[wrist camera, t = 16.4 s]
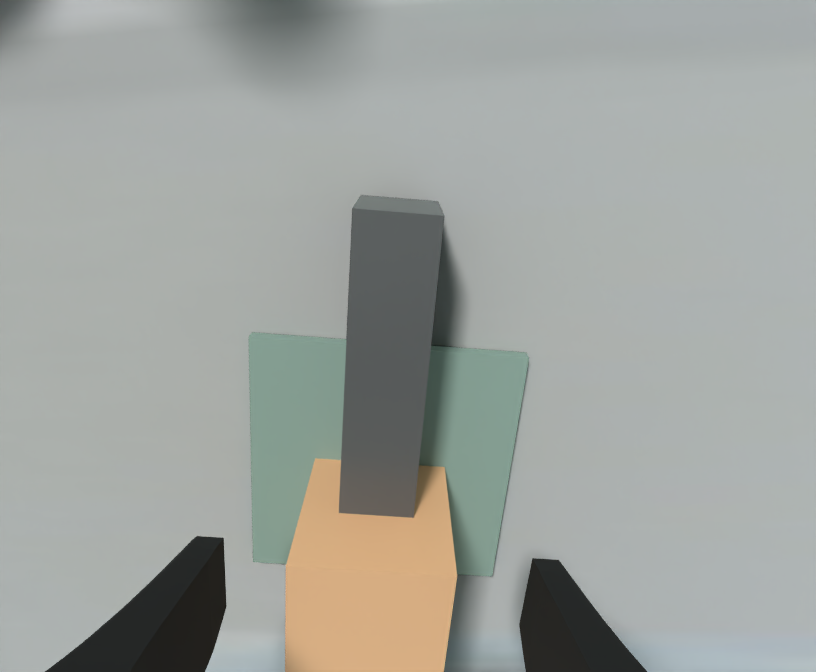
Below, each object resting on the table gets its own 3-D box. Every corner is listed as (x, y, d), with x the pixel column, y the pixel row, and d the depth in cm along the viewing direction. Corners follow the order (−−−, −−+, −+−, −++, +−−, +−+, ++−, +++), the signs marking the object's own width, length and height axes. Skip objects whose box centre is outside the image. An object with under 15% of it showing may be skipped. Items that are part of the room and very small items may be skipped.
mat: (526, 352, 16) (528, 357, 16) (490, 567, 19) (492, 576, 19) (252, 332, 16) (248, 337, 16) (255, 553, 19) (253, 562, 19)
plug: (476, 204, 15) (505, 236, 10) (429, 591, 19) (436, 724, 15) (322, 191, 14) (287, 219, 10) (311, 585, 19) (284, 716, 15)
